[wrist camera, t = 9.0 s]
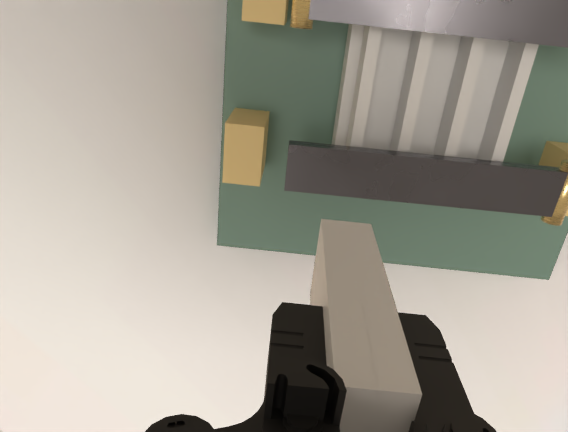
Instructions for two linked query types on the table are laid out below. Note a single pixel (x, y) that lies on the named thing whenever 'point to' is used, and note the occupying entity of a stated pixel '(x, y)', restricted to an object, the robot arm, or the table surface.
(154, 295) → the table surface
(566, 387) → the table surface
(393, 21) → the strap
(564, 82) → the board
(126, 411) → the table surface
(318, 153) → the strap
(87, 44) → the table surface
